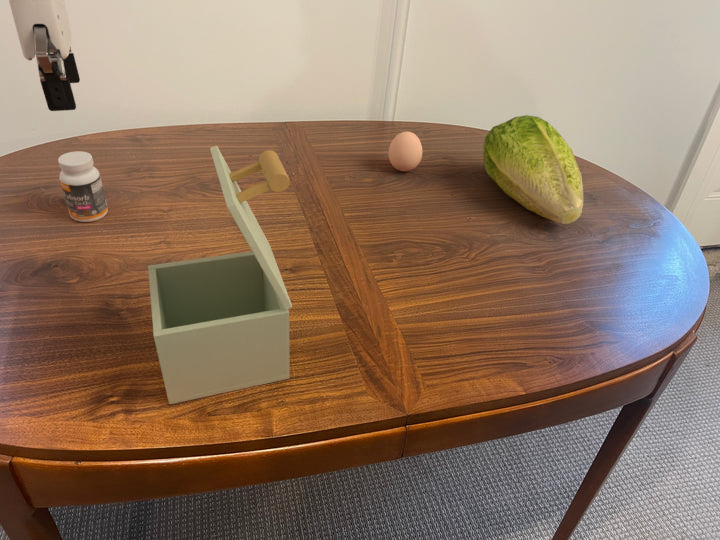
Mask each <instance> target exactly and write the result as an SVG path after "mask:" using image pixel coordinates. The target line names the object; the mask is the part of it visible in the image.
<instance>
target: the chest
mask: <svg viewBox="0 0 720 540" xmlns="http://www.w3.org/2000/svg"><path fill="white" fill-rule="evenodd" d="M147 271H148V282H149V295H150V297H149V298H150V309H151V321H152V322H151V323H152V334H153V340H154V343H155V344H154V345H155V348H156V353H157V357H158V362H159V366H160V370H161V375H162V379H163V380H162V381H163V385H164V388H165V393H166V397H167V401H168V404H169V405H174V404H180V403H184V402H188V401H193V400H197V399H202V398H206V397H211V396H217V395H220V394H225V393H230V392H234V391H239V390H243V389H248V388H254V387H257V386H262V385H266V384H267V385H268V384H271V383H275V382H281V381H286V380H290V379H291V378H290V376H291V375H290V372H291V371H290V369H291V368H290V367H291V366H290V364H291V363H290V361H291V360H290V309H288V310H285V308H284V306H283V304H282V303H281V301H280V299H279V297H278V296H277V294H276V292H275V290H274V289H273V287H272V285H271V283H270V282H269V280H268V278H267V276H266V275H265V273H264V271H263V269H262V268H261V266H260V264H259V262H258V261H257V259H256V257H255V255H254V254H253V252H252V250H251V251H244V252H236V253H228V254H221V255H214V256H208V257H200V258H193V259H186V260H178V261H172V262H171V261H170V262H163V263H158V264H157V263H156V264H149V265H147Z"/></svg>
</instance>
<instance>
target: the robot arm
mask: <svg viewBox="0 0 720 540" xmlns="http://www.w3.org/2000/svg"><path fill="white" fill-rule="evenodd" d="M8 2H9V5H10V6H9V7H10V10H11V14H12V18H13V21H14V26H15V29H16V33H17V36H18V40H19V44H20V48H21V51H22V52H21V53H22V55H23V58H24V59H26V60H27V61H32V60H33V59H36V64H37V69H38V75H39V81H40V85H41V89H42V91H43V96H44V98H45V103H46V105H47V108H48V110H49V111H50V112H62V111H75V110H76V109H77V104H76V100H75V96H74V92H73V89H72V84H78V83H80V81H81V78H80V74H79V69H78V66H77V63H76V62H77V61H76V58H75V54H74V52H73V51H72V46H71V45H72V32H71V27H70V26H71V25H70V22H69V16H68V12H67V7H66V3H65V0H8Z"/></svg>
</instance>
